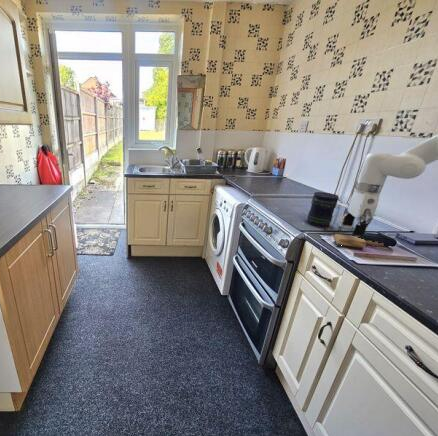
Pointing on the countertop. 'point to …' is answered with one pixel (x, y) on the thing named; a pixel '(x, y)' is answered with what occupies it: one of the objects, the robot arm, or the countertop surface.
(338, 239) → the brush
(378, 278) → the countertop surface
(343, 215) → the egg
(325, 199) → the storage jar
